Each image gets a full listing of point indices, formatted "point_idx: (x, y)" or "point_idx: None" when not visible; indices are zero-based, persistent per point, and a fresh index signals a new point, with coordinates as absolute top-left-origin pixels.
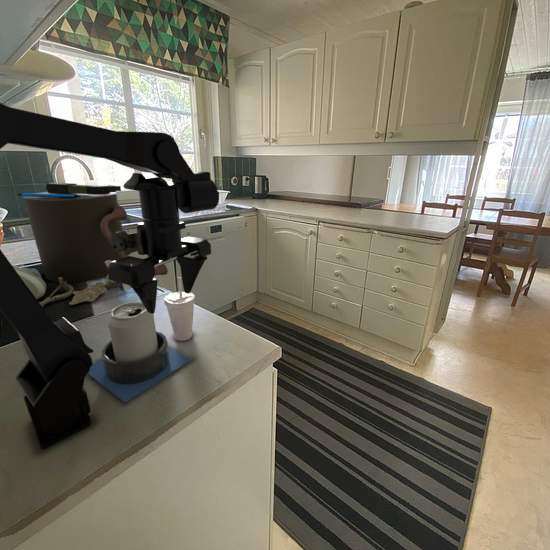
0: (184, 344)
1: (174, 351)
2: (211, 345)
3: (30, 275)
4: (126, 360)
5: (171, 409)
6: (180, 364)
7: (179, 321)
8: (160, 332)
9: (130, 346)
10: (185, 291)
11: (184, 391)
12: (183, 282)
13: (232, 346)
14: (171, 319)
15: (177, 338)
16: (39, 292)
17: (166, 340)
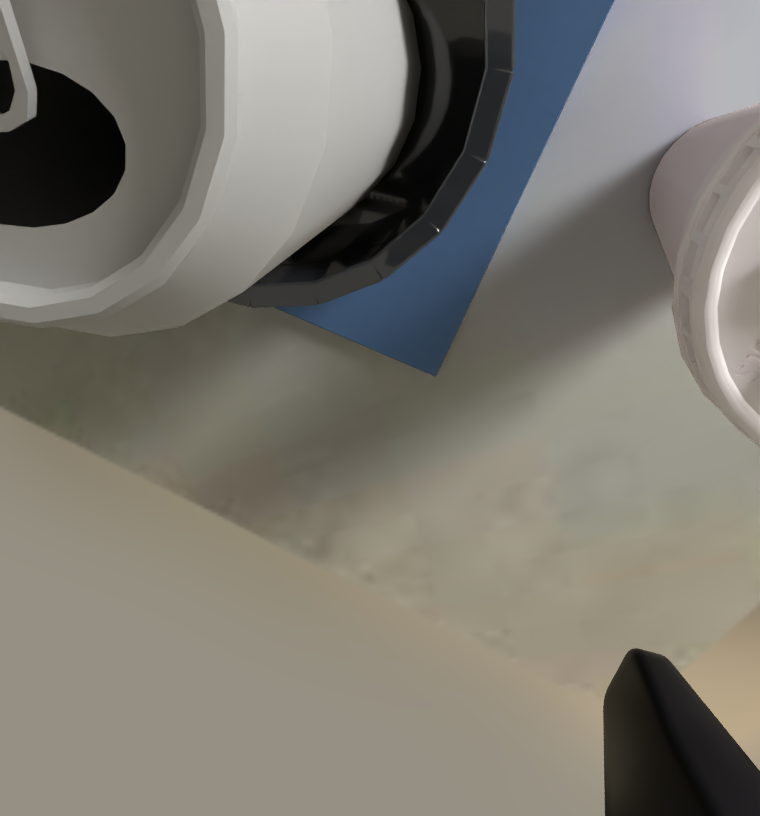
0: (602, 252)
1: (495, 232)
2: (615, 430)
3: None
4: (90, 108)
5: (110, 425)
6: (376, 336)
7: (671, 263)
8: (489, 150)
9: (36, 167)
10: (630, 675)
11: (215, 433)
12: (685, 812)
13: (620, 543)
14: (695, 167)
15: (655, 176)
16: None
17: (386, 274)
